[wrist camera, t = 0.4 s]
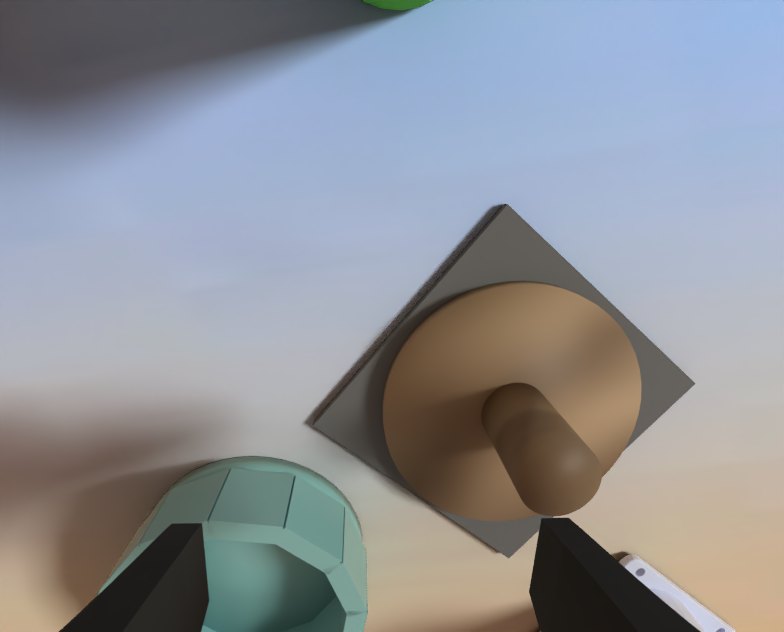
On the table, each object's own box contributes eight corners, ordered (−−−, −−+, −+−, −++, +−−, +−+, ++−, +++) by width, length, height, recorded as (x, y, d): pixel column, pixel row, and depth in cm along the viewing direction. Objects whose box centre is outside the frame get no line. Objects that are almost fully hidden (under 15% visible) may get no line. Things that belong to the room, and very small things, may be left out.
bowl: (405, 529, 21) (415, 605, 18) (280, 656, 23) (264, 750, 19) (228, 415, 19) (196, 474, 15) (104, 566, 21) (46, 653, 17)
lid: (679, 384, 20) (788, 453, 15) (508, 546, 22) (553, 654, 17) (507, 223, 17) (568, 240, 12) (329, 423, 19) (320, 509, 14)
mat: (688, 379, 20) (695, 383, 20) (506, 551, 22) (508, 558, 22) (504, 203, 17) (507, 204, 17) (314, 420, 19) (313, 425, 19)
